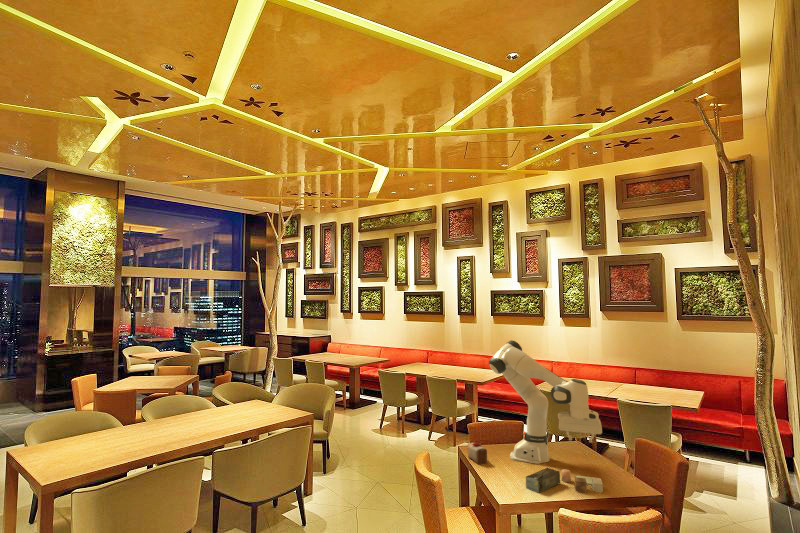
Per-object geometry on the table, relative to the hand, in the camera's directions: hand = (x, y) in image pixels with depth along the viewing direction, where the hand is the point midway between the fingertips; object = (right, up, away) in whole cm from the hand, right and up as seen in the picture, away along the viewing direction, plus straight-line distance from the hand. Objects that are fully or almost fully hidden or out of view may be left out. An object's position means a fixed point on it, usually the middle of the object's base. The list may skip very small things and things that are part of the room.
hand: (580, 441), depth 225 cm
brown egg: (-5, -23, +6) cm, 24 cm away
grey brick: (+7, -22, -3) cm, 24 cm away
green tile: (+6, -23, +6) cm, 24 cm away
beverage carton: (-19, -23, 0) cm, 29 cm away
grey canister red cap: (-45, -25, +36) cm, 63 cm away
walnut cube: (-2, -22, -5) cm, 23 cm away
